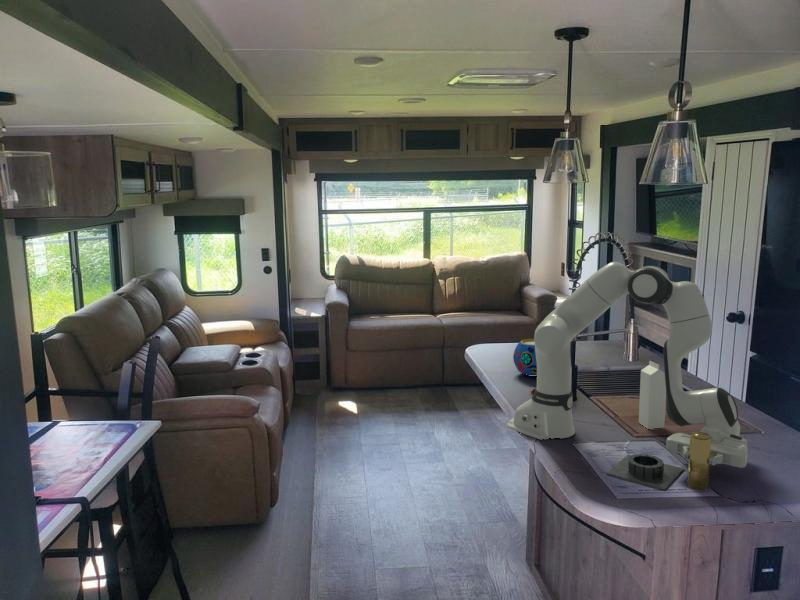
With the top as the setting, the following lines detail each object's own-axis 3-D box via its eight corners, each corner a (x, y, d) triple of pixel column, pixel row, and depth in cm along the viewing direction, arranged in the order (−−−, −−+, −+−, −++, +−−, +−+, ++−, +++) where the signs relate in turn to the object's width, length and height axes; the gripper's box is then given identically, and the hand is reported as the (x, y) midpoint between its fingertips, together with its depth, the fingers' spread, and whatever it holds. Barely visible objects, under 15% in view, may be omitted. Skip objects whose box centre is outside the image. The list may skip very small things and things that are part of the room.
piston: (685, 486, 172) (687, 435, 170) (690, 480, 176) (693, 429, 173) (704, 492, 169) (708, 439, 166) (710, 485, 173) (713, 433, 170)
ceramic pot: (517, 382, 268) (517, 347, 266) (509, 370, 286) (510, 337, 283) (559, 381, 268) (559, 346, 266) (549, 369, 286) (549, 336, 283)
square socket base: (606, 474, 180) (606, 462, 180) (627, 456, 192) (628, 445, 192) (664, 490, 170) (665, 478, 169) (683, 470, 182) (684, 458, 182)
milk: (654, 422, 219) (657, 359, 216) (664, 428, 213) (668, 364, 210) (638, 423, 218) (641, 360, 215) (647, 430, 213) (650, 365, 209)
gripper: (675, 424, 187) (658, 438, 176) (753, 440, 174) (740, 457, 163) (673, 444, 188) (657, 460, 177) (751, 462, 175) (739, 480, 164)
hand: (698, 459), depth 170 cm, fingers closed on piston, 5 cm apart
